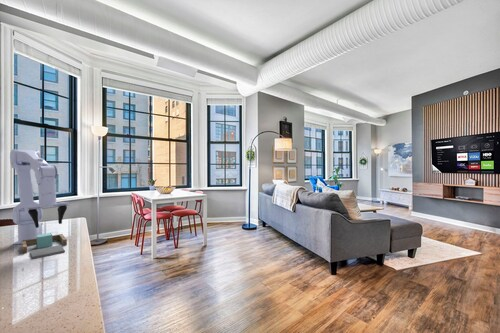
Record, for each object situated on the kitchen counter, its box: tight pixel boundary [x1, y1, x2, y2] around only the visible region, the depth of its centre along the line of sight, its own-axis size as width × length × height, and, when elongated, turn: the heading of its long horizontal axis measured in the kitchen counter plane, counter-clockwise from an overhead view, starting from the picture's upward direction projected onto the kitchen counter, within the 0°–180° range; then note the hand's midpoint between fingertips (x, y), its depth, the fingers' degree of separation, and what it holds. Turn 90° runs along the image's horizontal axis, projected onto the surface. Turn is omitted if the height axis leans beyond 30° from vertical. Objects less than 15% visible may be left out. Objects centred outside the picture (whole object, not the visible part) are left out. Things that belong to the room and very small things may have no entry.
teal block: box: [36, 232, 53, 249], centre depth 108 cm, size 5×5×5 cm
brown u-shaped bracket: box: [21, 233, 68, 254], centre depth 108 cm, size 13×14×2 cm
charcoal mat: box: [30, 244, 66, 260], centre depth 99 cm, size 10×10×1 cm
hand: (48, 225), depth 102 cm, fingers open, 7 cm apart
